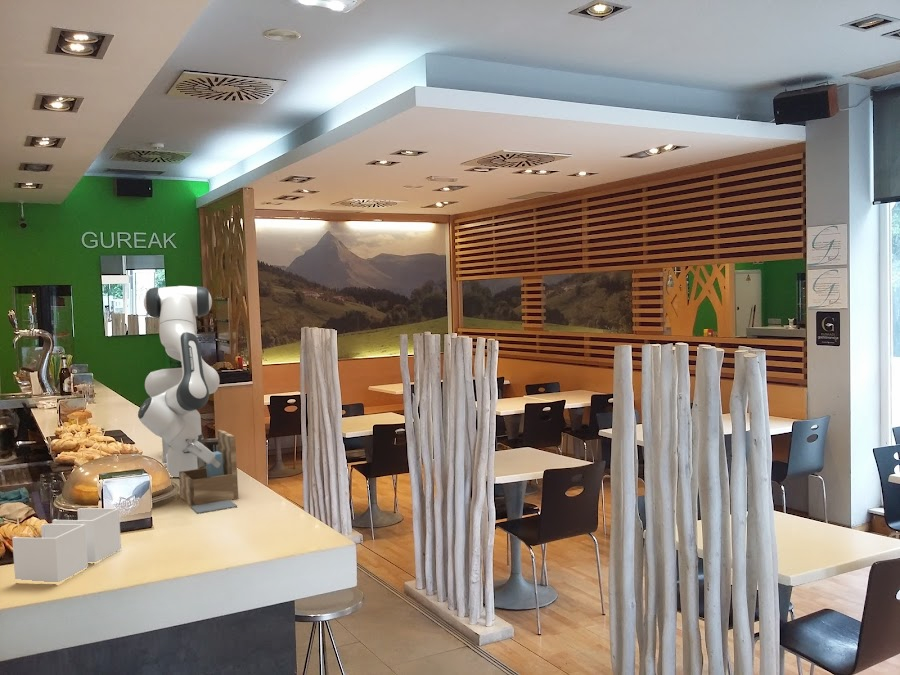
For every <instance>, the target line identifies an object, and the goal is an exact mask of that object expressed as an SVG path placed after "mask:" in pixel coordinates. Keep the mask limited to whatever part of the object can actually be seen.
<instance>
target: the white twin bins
mask: <svg viewBox="0 0 900 675" xmlns="http://www.w3.org/2000/svg"><path fill="white" fill-rule="evenodd" d="M76 512H77V519H74V520H73V519H56V518H55V519H52V523H42V524H41V525H40V529H41V530H40V531H41V537H26V536H25V537H23V536H21V537H20V536H19V537H18V536H17V535H15V536H13V537H12V538H11V539H12V540H11V541H12V555H13V566H14V567H13V568H14V580H15V579H21V580H32V581H44V582H60V581H62V580H64V579H66V578H68V577H70V576H72V575H74V574H75V573H77V572H79V571H81V570H83V569H84V568H86V567H88V568H89V564H88V562H97V561H99V560H101V559H103V558H105V557H107V556H109V555H111V554H113V553H114V552H116V551H118V550H120V549H121V550H122V541H121V539H122V538H121V537H122V536H121V526H120V525H121V523H120V510H119V508H112V507H111V508H107V507H106V508H95V507H93V508H91V507H89V508H87V507H83V508H81V507H80V508H78V509H77V510H76ZM121 550H120V551H121ZM118 552H119V551H118ZM113 555H114V554H113ZM111 556H112V555H111Z"/></svg>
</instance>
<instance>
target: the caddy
mask: <svg viewBox="0 0 900 675" xmlns="http://www.w3.org/2000/svg"><path fill="white" fill-rule="evenodd" d="M217 438H218V450H219V452H220V453H222V462H223V475H222V476H215V477H208V478H207V469H206V468H202V469H195V470H188V471H181V472H179V478H178V479H179V488H180V489H179V491H180V497H181V499H183V500H184V501H185V502H186V503H187V504H189V505H190V507H191V506H195V505H201V504H207V503H213V502H219V501H225V500H231V501H233V500H232V499H234V500H238V499H239V485H238V481H239V480H238V467H237V464H238V463H237V450H236V449H237V447H236V436H235V435H233V434H232V433H229V432H227V431H225V430H223V429H218V430H217ZM237 498H238V499H237Z"/></svg>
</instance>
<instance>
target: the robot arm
mask: <svg viewBox="0 0 900 675" xmlns="http://www.w3.org/2000/svg"><path fill="white" fill-rule="evenodd" d="M212 305H213V299H212V296H211V293H210V290H209V289H208V288H206V287H205V286H198V285H197V286H190V285H176V286H164V287H158V286H157V287H151V288H149V289H148V290H147V291H146V293H145V296H144V298H143V306H144V309H145V311H146V314H147V315H148V316H150V317H151V318H155V319H159V324H158V325H159V329H158V331H159V332H158V333H159V335H158V336H159V340H160V343H161V345H162V346H163V347H164V349H165V352H166V354H167V355H168V356H169V357H170V358H172V359H173V360H176V361H179V362H181V363H180V364H181V367H174V368H161V369H158V370H153V371H150V373H148V375H146V378H145V381H144V389H145V392H146V394H147V395H148V396H149V397H148V398H146V399H145V400H144V401H143V403H142V404H141V405H140V407H139V410H138V412H137V417H138V420H139V421H140V422H141V424H143V426H145V427H146V428H147V429H148V430H149V431H150V432H151V433H153V434H154V435H155V436H158V437H160V438H161V440H162V439H163V440H164V441H165V442H166V443H167V444H168V445H169V450H168V452H167V454H166V456H164V457H163V456H162V457H161V463H162V464H164V466H165V468H167V470H168V472H169V473H170V475H171V476H173V477H179V472H181V471H188V470H195V469H198V466H197V457H198V458H200V459H201V460H203V461H204V462H205V463H207V464H210V463H211V464H212V465H214V466H215V467H216V468H218V467H219V466H220V465H221V463H220V462H218V461H217V460H216V459H215V456H216V455H215V454H214V453H213V452H212V451H210V450H209V449H208V448H207V447H205V446H204V445H203V444H201V443H200V442H199V440H201V439H204V434H203V432H202V421H201V420H202V418H201V417H202V416H201V414H200V412H199V411H198V409H201V408H203V407H205V406H206V404H207V403H208V401H209V398H210V395H211V394H214V393H216V392H217V390H218V388H219V386H220V375H219V374H218V371H217V370H216V369H215V368H214V367H212V366H210V365H209V364H208V363H206V361H205V360H204V358H202V353H201V352H202V351H201V347H200V342H199V339H198V333H197V332H198V329H197V328H198V327H197V319H196V317H198V318H199V319H200V318H201V317H204V316H207V315H208V314H209V313H210V310H211V308H212ZM164 466H163V467H164ZM173 477H172V478H173Z"/></svg>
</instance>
